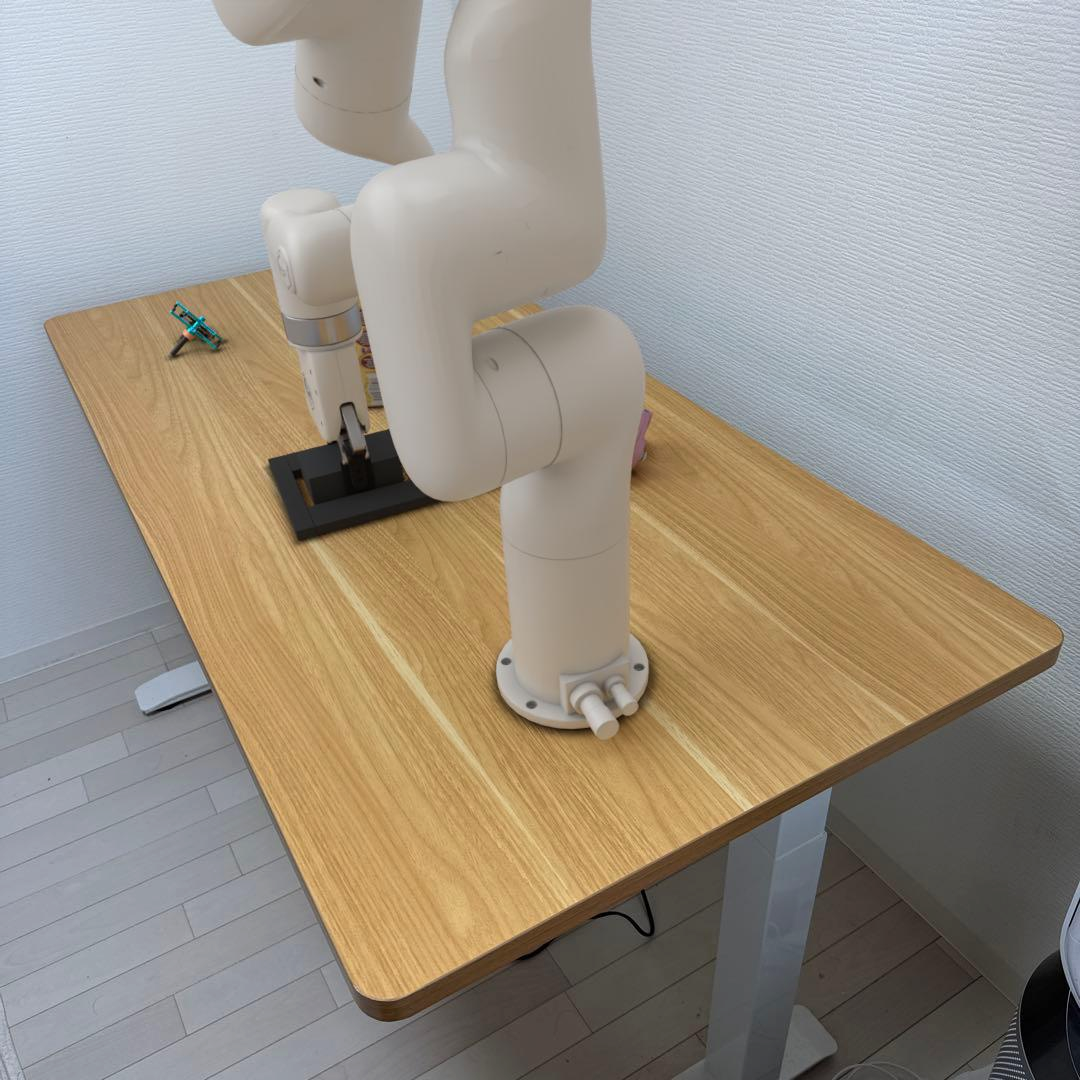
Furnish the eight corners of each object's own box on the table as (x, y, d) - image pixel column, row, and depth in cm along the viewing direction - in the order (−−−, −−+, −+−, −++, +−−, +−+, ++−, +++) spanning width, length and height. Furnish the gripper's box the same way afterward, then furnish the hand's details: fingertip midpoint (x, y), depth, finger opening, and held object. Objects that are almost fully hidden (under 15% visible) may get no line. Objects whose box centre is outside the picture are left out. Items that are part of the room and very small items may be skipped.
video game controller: (623, 498, 104) (654, 450, 99) (586, 480, 103) (614, 430, 99) (635, 451, 111) (663, 404, 107) (599, 434, 111) (626, 386, 107)
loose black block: (404, 482, 105) (400, 455, 103) (314, 505, 102) (308, 479, 100) (389, 456, 110) (385, 430, 108) (303, 478, 107) (296, 452, 105)
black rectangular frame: (499, 485, 104) (498, 476, 103) (298, 541, 98) (295, 531, 97) (451, 422, 116) (450, 413, 116) (269, 467, 110) (267, 458, 109)
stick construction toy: (229, 338, 135) (182, 299, 131) (196, 376, 134) (148, 338, 131) (221, 331, 145) (177, 295, 142) (190, 367, 145) (146, 332, 141)
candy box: (398, 406, 120) (380, 289, 111) (364, 408, 120) (343, 291, 111) (404, 374, 127) (387, 262, 119) (372, 376, 128) (352, 264, 119)
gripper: (269, 299, 100) (303, 448, 111) (303, 364, 88) (338, 525, 98) (339, 285, 103) (366, 432, 113) (382, 346, 90) (408, 506, 100)
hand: (353, 474), depth 106 cm, fingers closed on loose black block, 5 cm apart
